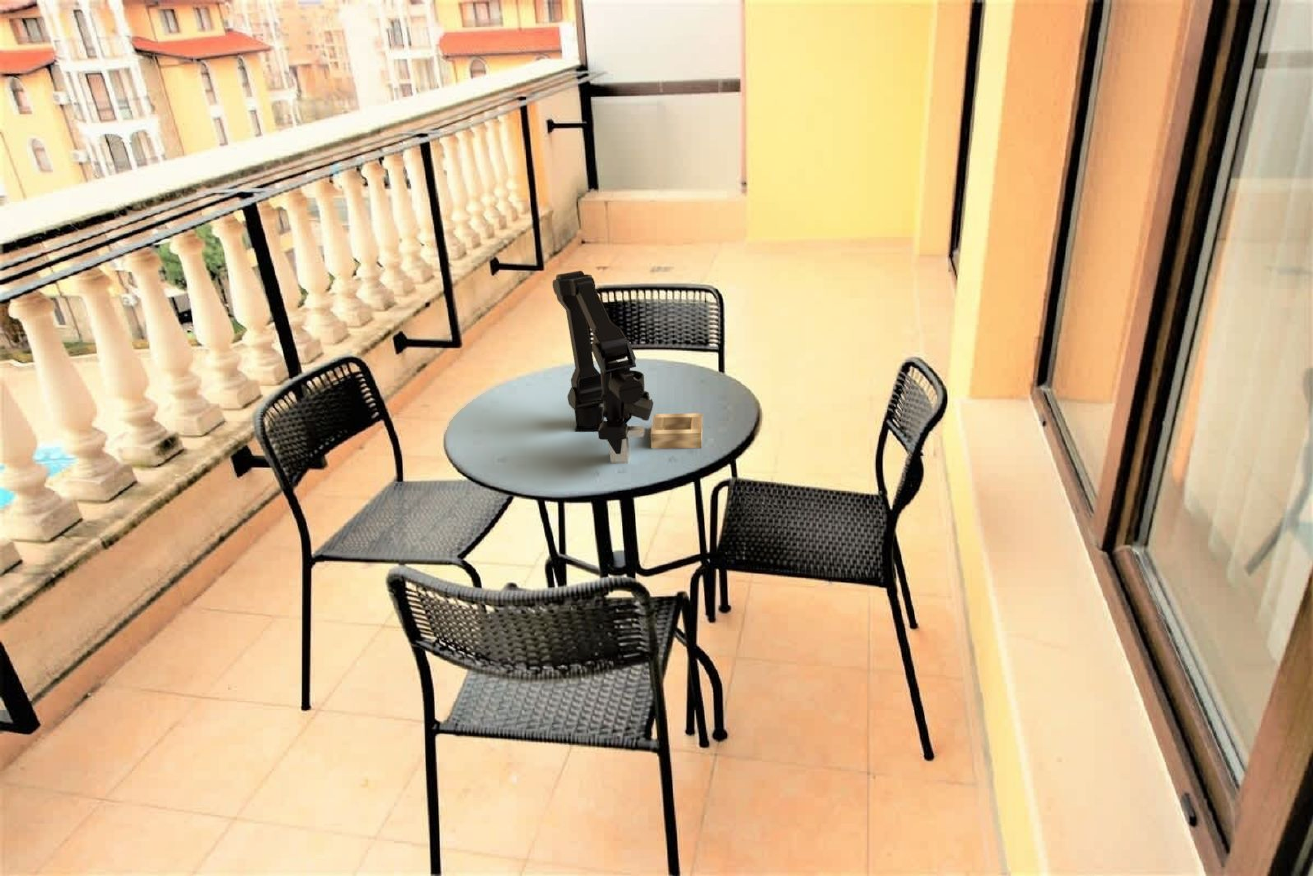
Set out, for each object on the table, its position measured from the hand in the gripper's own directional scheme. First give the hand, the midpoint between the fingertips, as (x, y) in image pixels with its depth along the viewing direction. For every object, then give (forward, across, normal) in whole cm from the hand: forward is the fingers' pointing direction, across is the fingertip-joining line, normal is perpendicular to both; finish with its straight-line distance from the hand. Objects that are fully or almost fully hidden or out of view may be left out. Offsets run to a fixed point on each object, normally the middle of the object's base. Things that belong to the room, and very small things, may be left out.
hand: (619, 449), depth 197 cm
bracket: (+3, 0, -2) cm, 3 cm away
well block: (+2, +10, -13) cm, 17 cm away
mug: (+3, +26, 0) cm, 26 cm away
